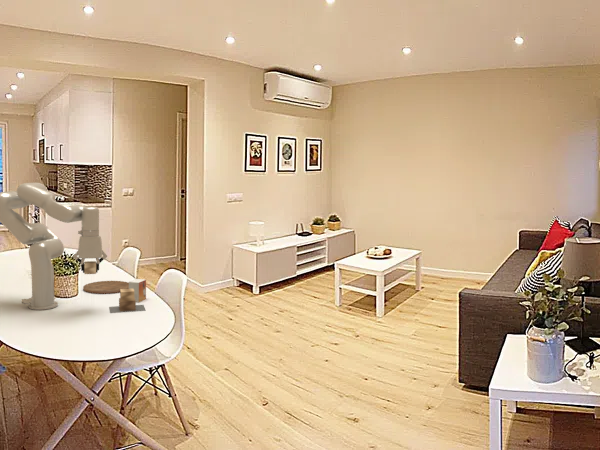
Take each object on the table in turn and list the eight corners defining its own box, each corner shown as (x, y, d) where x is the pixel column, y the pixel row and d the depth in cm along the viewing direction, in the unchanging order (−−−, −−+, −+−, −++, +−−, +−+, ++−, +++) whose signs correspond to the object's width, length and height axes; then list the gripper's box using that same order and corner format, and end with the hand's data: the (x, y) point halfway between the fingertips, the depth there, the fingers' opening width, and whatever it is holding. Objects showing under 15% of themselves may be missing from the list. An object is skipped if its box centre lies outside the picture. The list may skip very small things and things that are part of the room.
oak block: (121, 301, 248) (121, 292, 247) (120, 298, 253) (120, 289, 253) (134, 300, 250) (134, 291, 249) (133, 297, 255) (133, 288, 255)
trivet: (140, 286, 298) (140, 283, 298) (111, 297, 275) (111, 293, 275) (104, 282, 306) (104, 279, 306) (72, 291, 283) (72, 288, 283)
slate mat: (110, 313, 244) (110, 313, 244) (108, 307, 254) (108, 306, 254) (145, 311, 250) (145, 310, 250) (143, 305, 260) (143, 304, 260)
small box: (138, 303, 264) (138, 282, 262) (128, 302, 265) (128, 281, 263) (146, 299, 271) (146, 279, 270) (136, 298, 272) (136, 278, 271)
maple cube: (84, 274, 242) (84, 263, 242) (84, 271, 247) (84, 261, 246) (96, 273, 244) (96, 263, 244) (95, 271, 249) (95, 261, 248)
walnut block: (120, 311, 247) (120, 301, 247) (119, 307, 254) (119, 298, 253) (135, 310, 250) (135, 300, 250) (134, 306, 256) (134, 297, 256)
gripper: (69, 234, 237) (70, 274, 239) (110, 234, 243) (110, 273, 245) (70, 232, 244) (70, 271, 246) (109, 232, 250) (109, 269, 252)
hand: (90, 271), depth 246 cm, fingers closed on maple cube, 5 cm apart
